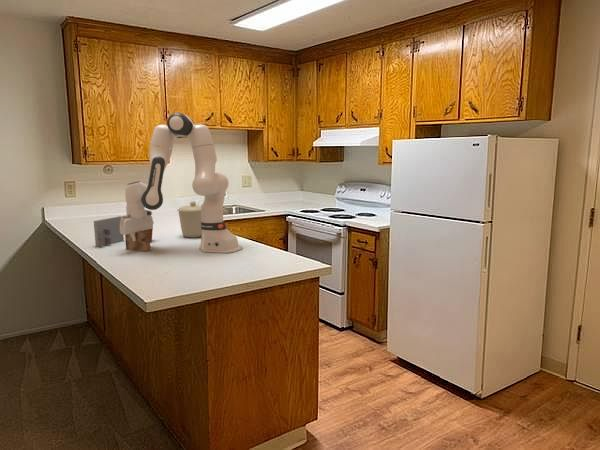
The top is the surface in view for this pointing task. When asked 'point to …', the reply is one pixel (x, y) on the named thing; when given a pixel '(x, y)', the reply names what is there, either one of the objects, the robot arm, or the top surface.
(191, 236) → the canister
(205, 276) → the top surface
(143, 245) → the walnut door
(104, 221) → the cabinet side
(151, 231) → the disposable coffee cup
